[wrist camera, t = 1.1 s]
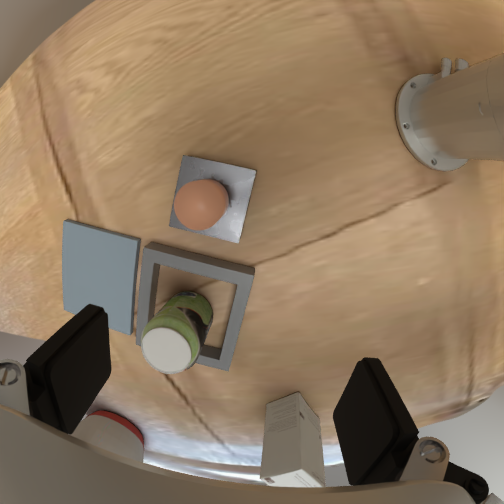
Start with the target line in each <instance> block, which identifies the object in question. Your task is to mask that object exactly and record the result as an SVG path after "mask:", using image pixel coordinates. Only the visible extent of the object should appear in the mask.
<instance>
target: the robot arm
mask: <svg viewBox="0 0 504 504" xmlns="http://www.w3.org/2000/svg"><path fill="white" fill-rule="evenodd" d="M451 66H452V61H451V60H450V59H448V58H442V60H441V72H439V73H438V74H436V75H435V74H420V75H417V76H415V77H413V78H411V79H409V80H408V81H407V82H406V83H405V84H404V85H403V87H402V88H401V89H400V92H399V94H398V96H397V101H396V121H397V126H398V129H399V132H400V135H401V137H402V139H403V141H404V143H405V145H406V146H407V148H408V149H409V151H410V152H411V153H412V155H413V156H414V157H415V158H416V159H417V160H418V161H420V162H421V163H422V164H424V165H425V166H427V167H429V168H431V169H435V170H438V171H453V170H455V169H458V168H460V167H461V166H463V165H464V164H465V163H466V162H467V161H468V160H469V159H478V160H497V161H504V53H503V54H500V55H497V56H495V57H493V58H490V59H487V60H485V61H482V62H480V63H477V64H475V65H472V66H470V67H469V64H468V62H467V61H465V60H463V59H456V60H455V73H453V74H451V75H450V73H451ZM411 87H412V88H411ZM403 125H404V126H405V128H404V126H403ZM431 161H432V163H431ZM26 361H27V362H26V363H25V364H24V365H23V366H22V364H20V363H19V362H18V361H15V360H10V359H5V360H0V504H504V502H503V501H502V500H501V499H499V498H498V497H497V496H496V495H494V494H493V493H491V494H490V495H488V492H489V488H488V484H487V482H486V481H485V480H484V479H483V478H482V477H481V476H479V475H477V474H475V473H473V472H470V471H468V470H466V469H464V468H462V467H459V466H457V465H455V464H453V463H451V462H449V455H450V454H449V450H448V448H447V447H446V445H445V444H444V443H443V442H442V441H440V440H438V439H437V438H434V437H423V438H421V439H419V438H418V436H417V434H418V433H419V431H418V429H417V427H416V425H415V423H414V421H413V419H412V418H411V416H410V414H409V412H408V410H407V408H406V406H405V404H404V403H403V401H402V399H401V397H400V395H399V393H398V391H397V390H396V388H395V386H394V384H393V382H392V381H391V379H390V377H389V375H388V374H387V372H386V370H385V368H384V366H383V365H382V363H381V361H380V360H379V359H378V358H367V357H365V358H363V359H362V360H361V361H358V362H357V364H356V366H355V369H354V371H353V373H352V375H351V377H350V379H349V381H348V384H347V386H346V388H345V390H344V392H343V394H342V396H341V398H340V400H339V402H338V404H337V406H336V408H335V410H334V412H333V420H334V424H335V428H336V432H337V436H338V440H339V444H340V448H341V452H342V456H343V460H344V464H345V468H346V472H347V477H348V481H349V484H350V485H353V486H340V487H278V486H263V485H252V484H243V483H235V482H228V481H221V480H215V479H209V478H203V477H198V476H193V475H189V474H184V473H180V472H175V471H171V470H167V469H164V468H160V467H156V466H152V465H149V464H146V463H142V462H139V461H136V460H133V459H130V458H127V457H124V456H121V455H118V454H115V453H112V452H110V451H107V450H104V449H102V448H99V447H97V446H94V445H92V444H90V443H87V442H85V441H82V440H80V439H78V438H75V437H73V436H71V435H69V434H72V433H73V432H74V431H75V429H76V428H77V426H78V424H79V423H80V421H81V420H82V418H83V416H84V415H85V413H86V412H87V410H88V409H89V407H90V406H91V404H92V402H93V401H94V399H95V398H96V396H97V395H98V393H99V392H100V390H101V389H102V387H103V386H104V384H105V383H106V381H107V380H108V378H109V376H110V374H111V358H110V345H109V326H108V314H107V313H106V312H105V310H104V308H103V307H100V306H97V305H93V304H88V305H87V306H85V307H84V308H83V309H82V310H81V311H80V312H78V313H77V314H76V315H75V316H74V317H73V318H72V319H70V320H69V321H68V322H67V323H66V324H65V325H64V326H62V327H61V328H60V329H59V330H58V331H57V332H56V333H55V334H54V335H52V336H51V337H50V338H49V339H48V340H47V341H46V342H45V343H44V344H43V345H42V346H40V348H38V349H37V350H36V351H35V352H34V353H33V354H32V355H31V356H30V357H29V358H28V359H27V360H26Z"/></svg>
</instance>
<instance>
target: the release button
mask: <svg viewBox="0 0 504 504" xmlns="http://www.w3.org/2000/svg"><path fill="white" fill-rule="evenodd" d="M228 204H229V197H228V193H227V191H226V189H225V188H224V187H223V185H222V184H220V183H219V182H217V181H215V180H212V179H202V180H197V181H192V182H189V183H187V184H185V185H184V186H182V187H181V188H180V190H179V191H178V192H177V194H176V197H175V200H174V210H175V214H176V216H177V218H178V220H179V221H180V222H181V223H182V224H183V225H184V226H186V227H187V228H189V229H192V230H206V229H208V228H210V227H212V226H213V225H214V224H216V223H217V221H218V220H219V219H220V218H221V217H222V216H223V215H224V214H225V212H226V211H227V208H228Z"/></svg>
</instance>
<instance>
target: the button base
mask: <svg viewBox="0 0 504 504" xmlns="http://www.w3.org/2000/svg"><path fill="white" fill-rule="evenodd" d="M256 172H257V171H256V170H252V169H248V168H243V167H239V166H235V165H230V164H226V163H221V162H216V161H212V160H207V159H202V158H197V157H192V156H186V155H183V158H182V162H181V167H180V171H179V176H178V181H177V186H176V191H175V196H174V200H175V197H176V194H177V192H178V191H179V190H180V188H181V187H182V186H184V185H185V184H187V183H189V182H192V181H197V180H202V179H212V180H215V181H217V182H219V183H220V184H222V185H223V187H224V188H225V189H226V191H227V193H228V197H229V204H228V208H227V211H226V212H225V214H224V215H223V216H222V217H221V218H220V219H219V220H218V221H217V223H216V224H214V225H213V226H212V227H210V228H208V229H206V230H192V229H189V228H187V227H186V226H184V225H183V224H182V223H181V222H180V221H179V220H178V218H177V216H176V214H175V210H174V201H173V206H172V212H171V217H170V223H169V226H170V227H174V228H178V229H182V230H186V231H191V232H195V233H199V234H203V235H207V236H211V237H215V238H219V239H223V240H227V241H231V242H235V243H239V241H240V238H241V234H242V230H243V225H244V221H245V217H246V213H247V209H248V205H249V201H250V197H251V193H252V189H253V185H254V180H255V176H256Z"/></svg>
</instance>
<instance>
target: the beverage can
mask: <svg viewBox="0 0 504 504" xmlns="http://www.w3.org/2000/svg"><path fill="white" fill-rule="evenodd" d="M212 320H213V312H212V308H211V306H210V304H209V303H208V301H207V300H206V299H205V298H204V297H202V296H201V295H199V294H197V293H195V292H188V291H185V292H181V293H178V294H176V295H174V296H173V297H172V298H171V299H170V300H169V301H168V302H167V303H166V304H165V305H164V306H163V307H162V309H161V310H160V311H159V312H158V313H157V314H156V315H155V316H154V317H153V318H152V319H151V320H150V321H149V322H148V323H147V324H146V326H145V327H144V329H143V331H142V335H141V348H142V353H143V356H144V358H145V360H146V361H147V362H148V363H149V365H150V366H152V367H153V368H154V369H156V370H158V371H160V372H162V373H166V374H175V373H179V372H181V371H185V370H187V369H189V368H190V367H192V366H193V365H194V364H195V363H196V361H197V359H198V357H199V355H200V352H201V349H202V347H203V344H204V342H205V339H206V336H207V334H208V331H209V329H210V326H211V323H212Z"/></svg>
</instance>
